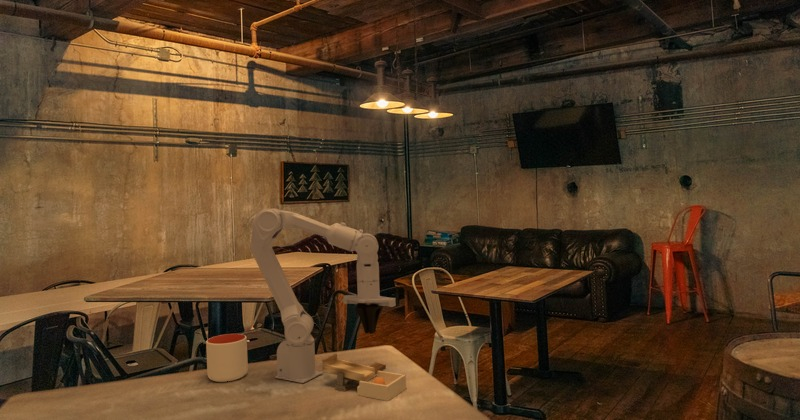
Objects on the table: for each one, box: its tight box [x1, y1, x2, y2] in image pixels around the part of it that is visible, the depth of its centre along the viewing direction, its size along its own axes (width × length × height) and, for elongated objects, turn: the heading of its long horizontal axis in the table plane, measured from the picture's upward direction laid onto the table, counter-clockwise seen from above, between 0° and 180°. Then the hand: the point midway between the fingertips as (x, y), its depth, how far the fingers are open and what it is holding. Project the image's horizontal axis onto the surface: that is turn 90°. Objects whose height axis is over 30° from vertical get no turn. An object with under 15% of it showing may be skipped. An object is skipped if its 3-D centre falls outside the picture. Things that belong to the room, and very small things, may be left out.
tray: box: [356, 370, 407, 402], centre depth 118 cm, size 8×8×3 cm
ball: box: [373, 377, 385, 385], centre depth 118 cm, size 3×3×3 cm
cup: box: [205, 333, 249, 383], centre depth 132 cm, size 10×10×10 cm
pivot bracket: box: [334, 372, 359, 392], centre depth 123 cm, size 3×7×4 cm, turn 150°
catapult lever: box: [321, 352, 387, 382], centre depth 125 cm, size 12×10×3 cm
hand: (370, 332), depth 131 cm, fingers closed
